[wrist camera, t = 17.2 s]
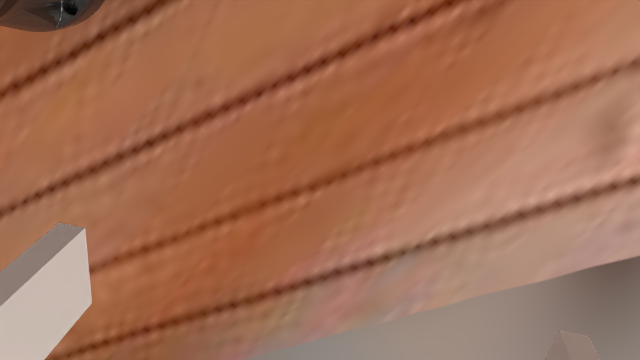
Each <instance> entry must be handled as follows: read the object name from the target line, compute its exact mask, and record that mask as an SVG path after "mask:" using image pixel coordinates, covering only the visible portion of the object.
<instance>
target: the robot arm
mask: <svg viewBox="0 0 640 360" xmlns="http://www.w3.org/2000/svg"><path fill="white" fill-rule="evenodd" d="M103 2H104V0H0V26H5V27H9V28H14V29H19V30H24V31H31V32H47V31H54V30H59V29H62V28H66V27H69V26H73V25H76V24H78V23H80V22H82V21H84V20H86V19H87V18H89V17H90V16H91V15H93V14H94V13H95V12H96V11H97V10H98V9H99V7H100V6H101V5H102V3H103ZM91 303H92V298H91V287H90V276H89V265H88V255H87V244H86V233H85V228H83V227H78V226H74V225H69V224H64V223H60V222H59V223H58V224H57V225H56V226H54V227H53V228H52V229H51V230H50V231H48V232H47V233H46V234H45V235H44V236H42V237H41V238H40V239H39V240H38V241H37V242H35V243H34V244H33V245H32V246H31V247H29V248H28V249H27V250H26V251H25V252H23V253H22V254H21V255H20V256H19V257H18V258H16V259H15V260H14V261H13V262H12V263H10V264H9V265H8V266H7V267H6V268H4V269H3V270H2V271H1V272H0V360H44V359H45V358H46V357H47V356H48V354H49V353H50V352H51V351H52V350H53V348H54V347H55V346H56V345H57V344H58V343H59V341H60V340H61V339H62V338H63V337H64V335H65V334H66V333H67V332H68V331H69V329H70V328H71V327H72V326H73V325H74V324H75V322H76V321H77V320H78V319H79V318H80V316H81V315H82V314H83V313H84V312H85V311H86V309H87V308H88V307H89V306H90V305H91ZM545 360H600V359H599V356H598V354H597V352H596V350H595V348H594V346H593V343H592V342H591V339H590V337H589V336H585V335H581V334H576V333H571V332H567V331H562V330H559V332H558V334H557V336H556V338H555V340H554V342H553V344H552V346H551V348H550V350H549V352H548V354H547V356H546V358H545Z"/></svg>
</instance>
